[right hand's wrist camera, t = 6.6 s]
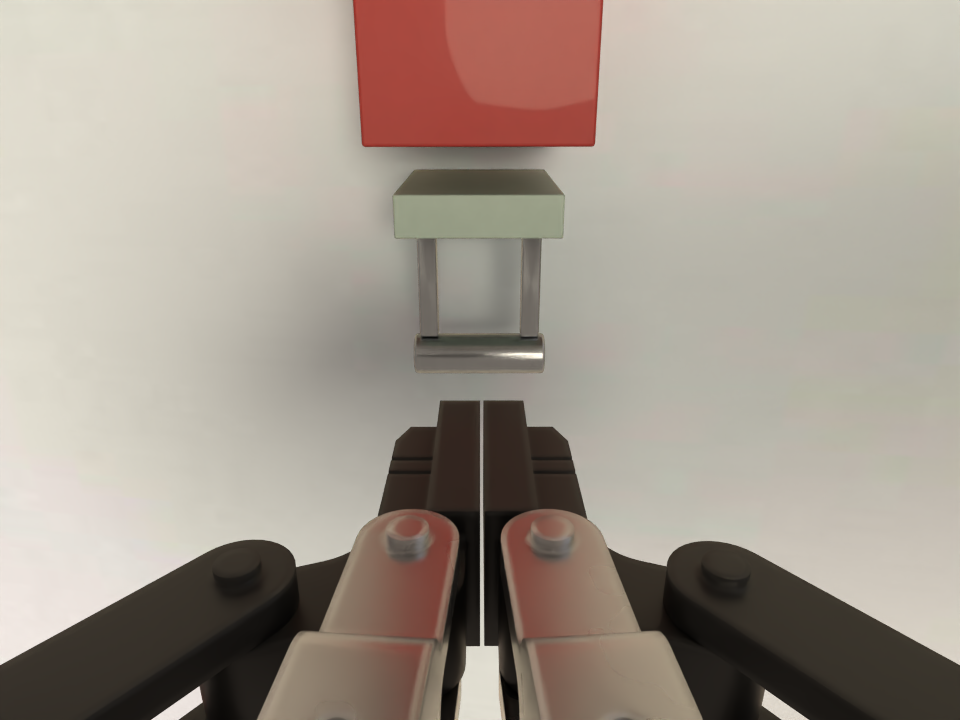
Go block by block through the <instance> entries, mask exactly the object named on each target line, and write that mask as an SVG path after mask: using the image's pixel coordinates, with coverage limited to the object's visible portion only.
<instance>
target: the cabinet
mask: <svg viewBox="0 0 960 720" xmlns="http://www.w3.org/2000/svg"><path fill="white" fill-rule="evenodd" d="M353 8H354V24H355V40H356V56H357V72H358V88H359V104H360V120H361V136H362V145H363V146H364V147H592V146H594V144H595V134H596V117H597V99H598V82H599V64H600V47H601V30H602V12H603V0H353Z"/></svg>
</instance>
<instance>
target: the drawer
mask: <svg viewBox="0 0 960 720" xmlns="http://www.w3.org/2000/svg"><path fill="white" fill-rule="evenodd" d="M564 203H565V195H564V194H563V193H562V191H561V190H560V189H559V188H558V186H557V185H556V184H555V183H554V181H553V180H552V179H551V178H550V176H549V175H548V174H547V173H546V171H545V170H414V171H413V173H412V174H411V175H410V176H409V177H408V178H407V180H406V181H405V182H404V183H403V184H402V185H401V187H400V188H399V189H398V190H397V191H396V192H395V194H394V195H393V214H394V235H395V238H396V239H417V258H418V286H419V314H420V333H418V334H416V335H415V340H414V367H415V371H416V373H542V372H543V371H544V365H545V341H544V336H543V334H541V333H539V305H540V273H541V242H542V238H563V226H564ZM437 238H522V239H521V287H520V333H439V301H438V261H437Z"/></svg>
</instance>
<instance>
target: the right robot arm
mask: <svg viewBox="0 0 960 720" xmlns="http://www.w3.org/2000/svg"><path fill="white" fill-rule="evenodd" d="M483 528H484V646H498V647H499V701H500V709H501V717H502V720H781V719H780V718H778V717H777V716H775V715H774V714H773V713H771V712H770V711H768V710H767V709H766V708H764V707H763V706H762V701H763V696H764V691H765V689H766V690H767V691H769V692H770V693H771V694H773V695H774V696H776V697H777V698H779V699H780V700H782V701H783V702H784V703H786V704H787V705H789V706H790V707H792V708H793V709H794V710H796V711H797V712H799V713H800V714H802V715H803V716H804V717H806V718H807V719H809V720H960V665H958V664H957V663H955V662H953V661H951V660H949V659H947V658H946V657H944V656H942V655H940V654H938V653H936V652H935V651H933V650H931V649H929V648H927V647H925V646H924V645H922V644H920V643H918V642H916V641H914V640H913V639H911V638H909V637H907V636H905V635H903V634H902V633H900V632H898V631H896V630H894V629H892V628H891V627H889V626H887V625H885V624H883V623H881V622H880V621H878V620H876V619H874V618H872V617H870V616H869V615H867V614H865V613H863V612H861V611H859V610H858V609H856V608H854V607H852V606H850V605H848V604H847V603H845V602H843V601H841V600H839V599H837V598H836V597H834V596H832V595H830V594H828V593H827V592H825V591H823V590H821V589H819V588H817V587H816V586H814V585H812V584H810V583H808V582H806V581H805V580H803V579H801V578H799V577H797V576H795V575H794V574H792V573H790V572H788V571H786V570H784V569H783V568H781V567H779V566H777V565H775V564H773V563H772V562H770V561H768V560H766V559H764V558H762V557H761V556H759V555H757V554H755V553H753V552H751V551H749V550H747V549H744V548H741V547H739V546H736V545H732V544H728V543H722V542H714V541H700V542H693V543H689V544H686V545H683V546H681V547H679V548H678V549H676V550H675V551H674V552H673V553H672V554H671V555H670V557H669V559H668V562H667V567H666V566H662V565H657V564H652V563H648V562H643V561H639V560H635V559H631V558H628V557H626V556H623V555H621V554H619V553H616V552H614V551H613V550H611V549H609V548H608V547H607V545H606V543H605V540H604V538H603V535H602V533H601V532H600V530H599V529H598V528H597V527H596V526H595V525H594V524H593V523H592V522H591V521H589V520H587V516H586V512H585V508H584V504H583V500H582V496H581V492H580V488H579V484H578V480H577V476H576V474H575V468H574V464H573V460H572V456H571V452H570V448H569V444H568V441H567V440H566V439H565V438H564V437H563V436H562V435H561V434H560V433H559V432H558V431H557V430H555V429H554V428H553V427H527V424H526V417H525V410H524V403H523V401H484V402H483ZM466 646H480V401H440V407H439V415H438V422H437V427H410V428H409V429H408V430H407V431H406V432H405V433H404V434H403V435H402V436H401V437H400V438H399V439H397V440H396V442H395V447H394V451H393V455H392V460H391V463H390V467H389V474H388V476H387V480H386V484H385V488H384V492H383V497H382V501H381V505H380V509H379V513H378V517H376V518H374V519H373V520H371V521H369V522H368V523H367V524H366V525H365V526H364V527H363V528H362V529H361V530H360V532H359V533H358V535H357V538H356V540H355V543H354V545H353V548H352V550H351V552H349V553H347V554H345V555H342V556H340V557H337V558H334V559H331V560H327V561H323V562H318V563H314V564H309V565H304V566H300V567H296V564H295V559H294V557H293V555H292V553H291V552H290V551H289V550H288V549H287V548H285V547H284V546H282V545H280V544H278V543H275V542H271V541H265V540H244V541H238V542H233V543H229V544H226V545H223V546H220V547H217V548H215V549H213V550H211V551H209V552H207V553H205V554H203V555H201V556H199V557H198V558H196V559H194V560H192V561H190V562H188V563H187V564H185V565H183V566H181V567H179V568H177V569H176V570H174V571H172V572H170V573H168V574H166V575H165V576H163V577H161V578H159V579H157V580H155V581H154V582H152V583H150V584H148V585H146V586H144V587H143V588H141V589H139V590H137V591H135V592H134V593H132V594H130V595H128V596H126V597H124V598H123V599H121V600H119V601H117V602H115V603H113V604H112V605H110V606H108V607H106V608H104V609H102V610H101V611H99V612H97V613H95V614H93V615H91V616H90V617H88V618H86V619H84V620H82V621H80V622H79V623H77V624H75V625H73V626H71V627H69V628H68V629H66V630H64V631H62V632H60V633H58V634H57V635H55V636H53V637H51V638H49V639H47V640H46V641H44V642H42V643H40V644H38V645H36V646H35V647H33V648H31V649H29V650H27V651H25V652H24V653H22V654H20V655H18V656H16V657H15V658H13V659H11V660H9V661H7V662H5V663H4V664H2V665H0V720H151V719H153V718H154V717H156V716H157V715H158V714H160V713H161V712H163V711H164V710H166V709H167V708H168V707H170V706H171V705H173V704H174V703H176V702H177V701H179V700H180V699H181V698H183V697H184V696H186V695H187V694H189V693H190V692H191V691H193V690H194V689H196V688H197V687H199V686H200V690H201V695H202V700H203V703H201V704H200V705H199V706H197V707H196V708H194V709H193V710H192V711H190V712H189V713H187V714H186V715H185V716H183V717H182V718H181V719H179V720H458V717H459V709H460V701H461V678H462V676H463V673H464V671H465V665H466Z"/></svg>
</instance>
